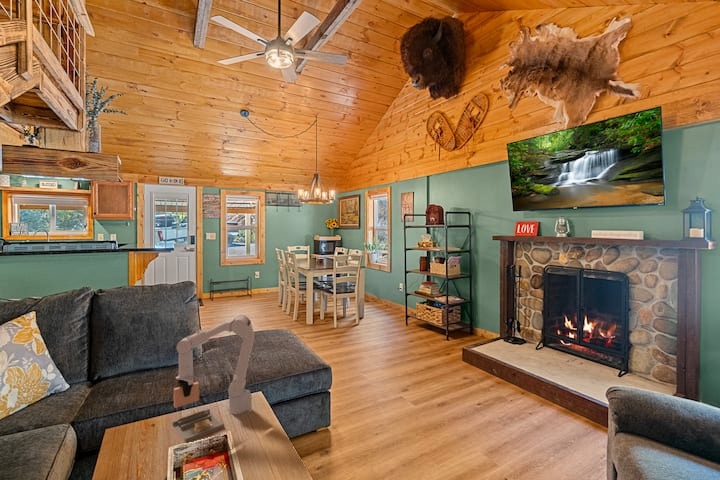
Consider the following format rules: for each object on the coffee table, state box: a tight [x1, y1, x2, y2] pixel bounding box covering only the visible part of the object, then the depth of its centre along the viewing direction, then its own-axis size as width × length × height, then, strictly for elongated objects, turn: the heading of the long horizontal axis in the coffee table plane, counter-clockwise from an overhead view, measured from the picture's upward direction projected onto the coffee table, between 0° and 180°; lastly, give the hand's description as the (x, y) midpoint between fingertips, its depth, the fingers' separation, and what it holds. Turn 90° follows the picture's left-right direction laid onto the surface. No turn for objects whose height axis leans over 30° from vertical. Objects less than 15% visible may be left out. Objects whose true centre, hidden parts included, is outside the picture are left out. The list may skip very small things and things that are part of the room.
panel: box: [173, 381, 200, 409], centre depth 152 cm, size 10×2×8 cm, turn 134°
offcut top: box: [195, 419, 210, 431], centre depth 139 cm, size 5×4×2 cm
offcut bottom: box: [194, 423, 213, 433], centre depth 139 cm, size 6×4×2 cm, turn 142°
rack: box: [172, 408, 225, 444], centre depth 142 cm, size 15×17×2 cm
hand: (186, 395), depth 152 cm, fingers closed on panel, 2 cm apart
